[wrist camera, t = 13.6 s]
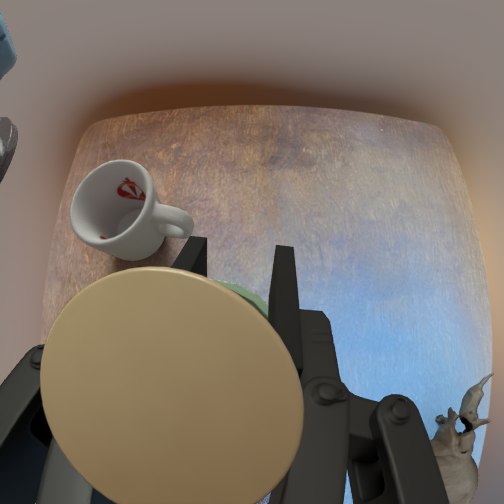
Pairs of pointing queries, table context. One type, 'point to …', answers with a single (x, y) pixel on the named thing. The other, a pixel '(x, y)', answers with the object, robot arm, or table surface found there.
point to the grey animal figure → (459, 447)
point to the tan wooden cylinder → (171, 391)
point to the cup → (124, 212)
